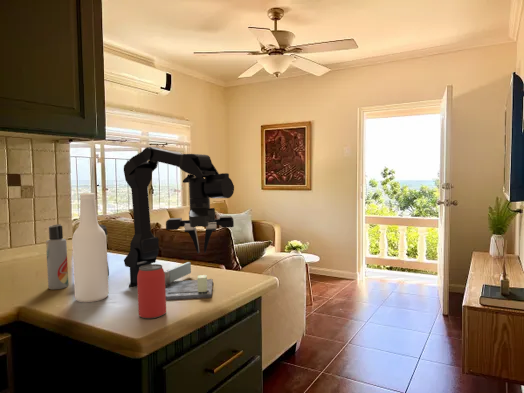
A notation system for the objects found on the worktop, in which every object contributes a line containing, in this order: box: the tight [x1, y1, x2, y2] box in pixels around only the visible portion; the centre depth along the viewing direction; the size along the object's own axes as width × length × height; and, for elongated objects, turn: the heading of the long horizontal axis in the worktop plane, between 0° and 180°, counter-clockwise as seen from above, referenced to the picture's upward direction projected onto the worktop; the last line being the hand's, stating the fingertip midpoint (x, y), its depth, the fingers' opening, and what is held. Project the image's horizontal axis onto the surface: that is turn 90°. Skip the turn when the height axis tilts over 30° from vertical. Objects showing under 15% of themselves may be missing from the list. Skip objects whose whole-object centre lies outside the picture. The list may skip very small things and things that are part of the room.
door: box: [164, 261, 192, 284], centre depth 122 cm, size 14×2×4 cm, turn 159°
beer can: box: [136, 263, 167, 320], centre depth 93 cm, size 7×7×12 cm
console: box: [165, 278, 214, 301], centre depth 112 cm, size 15×16×1 cm
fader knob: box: [196, 274, 208, 292], centre depth 108 cm, size 2×3×4 cm
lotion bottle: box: [45, 223, 69, 290], centre depth 120 cm, size 6×6×20 cm
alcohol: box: [71, 192, 109, 303], centre depth 107 cm, size 9×9×30 cm
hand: (201, 252), depth 108 cm, fingers closed
